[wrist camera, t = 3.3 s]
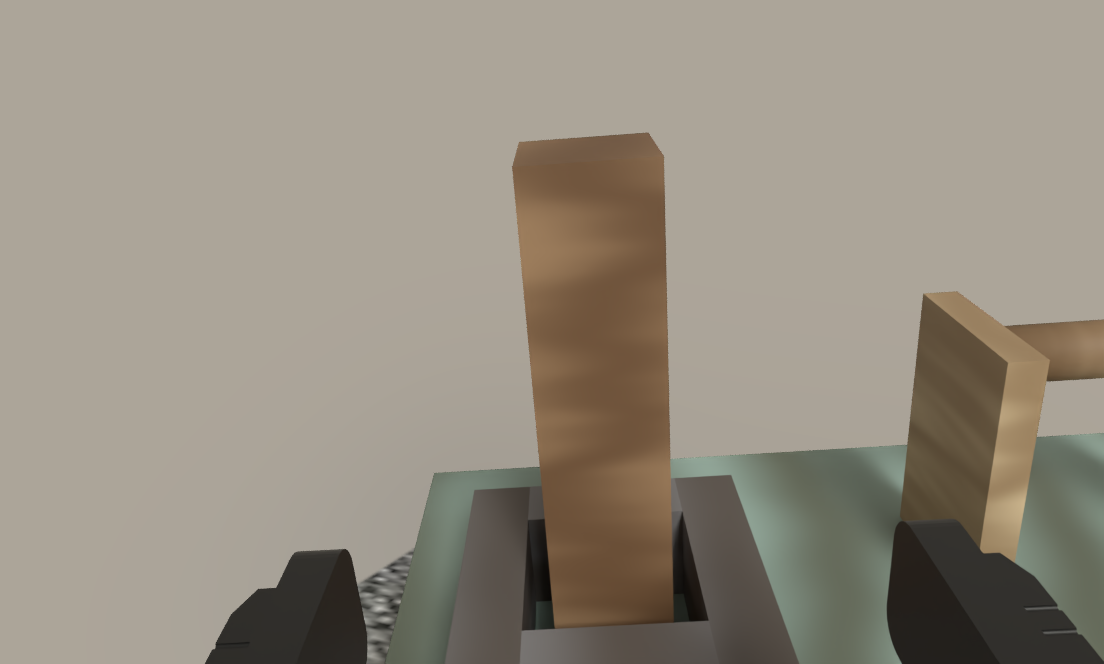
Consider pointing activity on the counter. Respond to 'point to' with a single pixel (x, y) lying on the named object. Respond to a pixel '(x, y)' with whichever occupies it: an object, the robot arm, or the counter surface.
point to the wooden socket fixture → (795, 523)
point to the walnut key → (599, 372)
